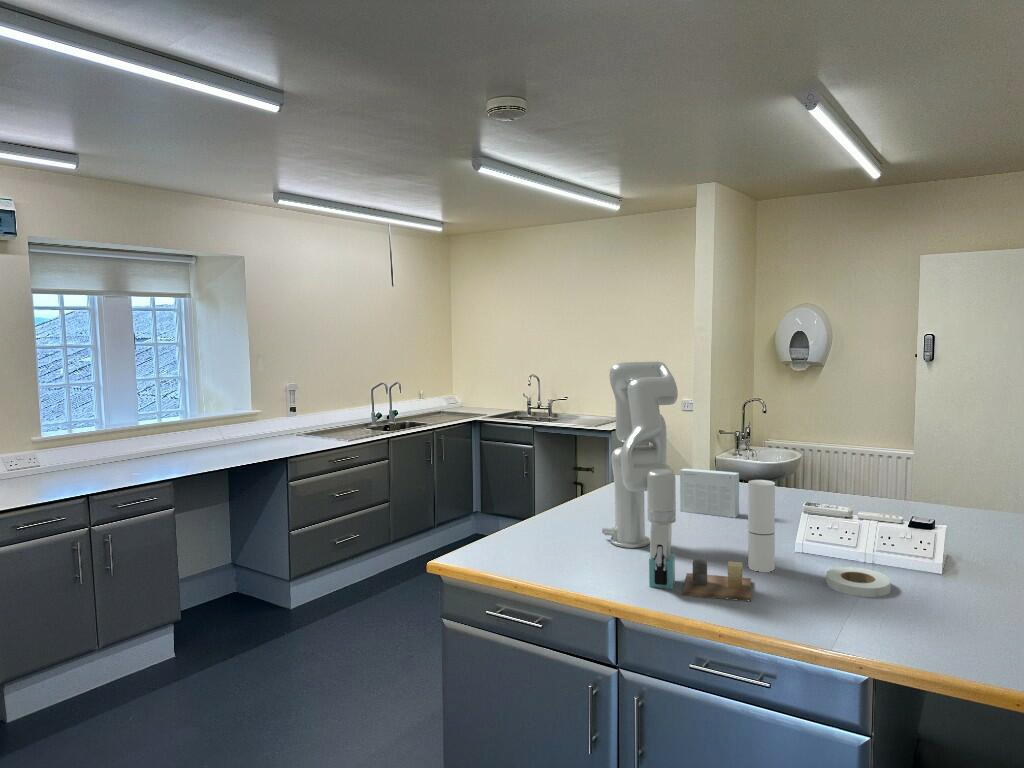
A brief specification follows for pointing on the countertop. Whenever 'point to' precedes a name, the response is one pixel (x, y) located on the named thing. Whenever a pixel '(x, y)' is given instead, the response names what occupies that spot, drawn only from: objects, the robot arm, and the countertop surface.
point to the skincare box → (709, 492)
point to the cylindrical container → (761, 525)
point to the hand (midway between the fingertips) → (662, 579)
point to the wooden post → (735, 575)
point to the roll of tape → (844, 576)
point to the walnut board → (713, 584)
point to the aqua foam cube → (670, 572)
